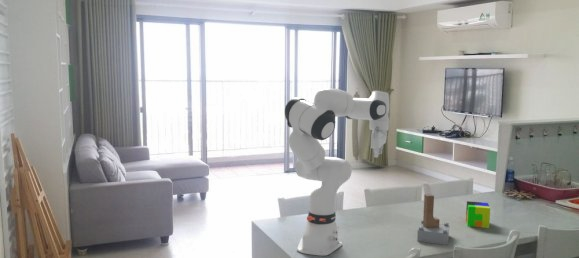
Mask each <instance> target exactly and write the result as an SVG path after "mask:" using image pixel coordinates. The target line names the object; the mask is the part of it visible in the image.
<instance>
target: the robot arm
mask: <svg viewBox="0 0 579 258" xmlns="http://www.w3.org/2000/svg"><path fill="white" fill-rule="evenodd" d="M390 107H391V106H390V95H389V93H388V92H387V91H385V90H372V91H371V94H370V96H369V97H368V98H367V97H366V98H365V97H364V98H363V97H362V98H361V97H353V95H352V94H351V93H349V92H347V91H346V90H342V89H338V88H330V87H329V88H322V89H320V90H318V91H317V92H316V94H315V96H314V99H313V102H310V101H308V100H306V99H305V98H302V97H299V96H298V97H293V98H291V99H290V100H288V102H287V103H286V105H285V108H284V116H285V119H286V124H287V125H286V126H287V127H289V128H292V132H291V133H290V135H289V137H288V145H289V148H290V150H291V151H292V153H293V155H294V156H295V158H296V161H295V163H294V170H295V171H294V172H295V173H296V175H297V177H300V178H303V179H306V180H310V181H317V182H321V186H320V187H318V188H316V189H314V190H313V191H311V193H310V195H309V211H308V213H307V217H306V225H305V227H304V231H303V232H302V233H303V235H302V237H301V238H300V240H299V243H298V245H297V248H296V251H297V252H298V253H302V254H306V255H311V256H312V255H313V256H320V257H321V256H328V255H330V254H332V253H333V252H335V251H336V250H338V249H339V248H340V247H342V246H343V242H342V241H340V232H339V230H340V229H339V225H338V224H337V222H336V218H337V217H336V216H337V215H336V209H335V208H336V195H337V192H338V191H339V189H340V187H341V186H343V184H345V183H346V182H347V181H349V179H350V178H351V177H352V165H351V163H350V162H349V160H346V159H344V158H340V157H335V156H326V150H325V148H324V147H323V145H322V144H321V143H320V141H324V140H326V139H328V138H330V137H331V136H332V135H333V133H334V132H335V131H334V130H335V128H336V117H339V118H342V117H345V118H346V119H347V120H364V121H369V123H368V125H369V126H368V127H369V129H368V130H371V134H370V135H371V136H370V149H373V157H374V158H375V159H377V158H379V155H382V154H383V148H384V145H385V144H386V143H387V138H388V131H389V129H390V116H389V113H390Z"/></svg>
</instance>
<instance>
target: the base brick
mask: <svg viewBox="0 0 579 258" xmlns="http://www.w3.org/2000/svg"><path fill="white" fill-rule="evenodd" d="M449 236H450V223H449V222H444V224H442V223H439V227H432V228H426V227H424V226H423V219H420V222H419V226H418V227H417V240H416V241H417V242H422V243H423V242H425V243H432V244H438V245H439V244H440V245H447V246H448V244H449V238H450V237H449Z"/></svg>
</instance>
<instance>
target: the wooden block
mask: <svg viewBox="0 0 579 258" xmlns="http://www.w3.org/2000/svg"><path fill="white" fill-rule="evenodd" d="M423 197H424V199H423V219H422V220H423V226H424V227H426V228H432V227H439V224H440V219H439V218H438V217H435V216H434V207H435V206H434V204H435V195H433V194H432V193H427V194H426V193H425V194H424V196H423Z"/></svg>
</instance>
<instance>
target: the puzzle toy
mask: <svg viewBox="0 0 579 258" xmlns="http://www.w3.org/2000/svg"><path fill="white" fill-rule="evenodd" d="M490 216H491V206H490V205H489V202H482V201H481V202H480V201H468V200H467V201H466V212H465V222H466V226H467V227H472V228H473V227H474V228H475V227H476V228H483V229H484V228H487V229H489V228H490V220H491V217H490Z"/></svg>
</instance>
